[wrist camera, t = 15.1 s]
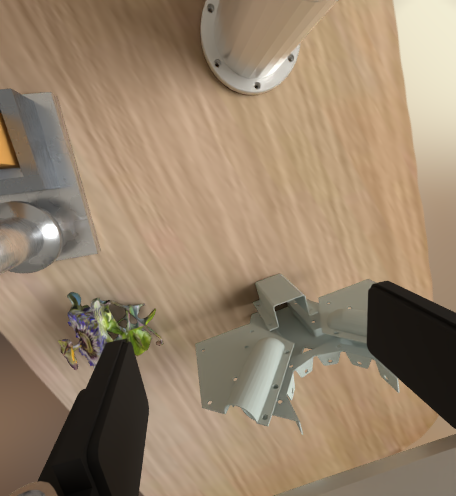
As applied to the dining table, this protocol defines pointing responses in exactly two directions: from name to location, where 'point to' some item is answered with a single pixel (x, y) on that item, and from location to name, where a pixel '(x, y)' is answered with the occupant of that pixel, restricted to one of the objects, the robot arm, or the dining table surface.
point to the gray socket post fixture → (41, 188)
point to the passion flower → (103, 329)
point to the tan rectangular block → (6, 148)
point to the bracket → (283, 348)
